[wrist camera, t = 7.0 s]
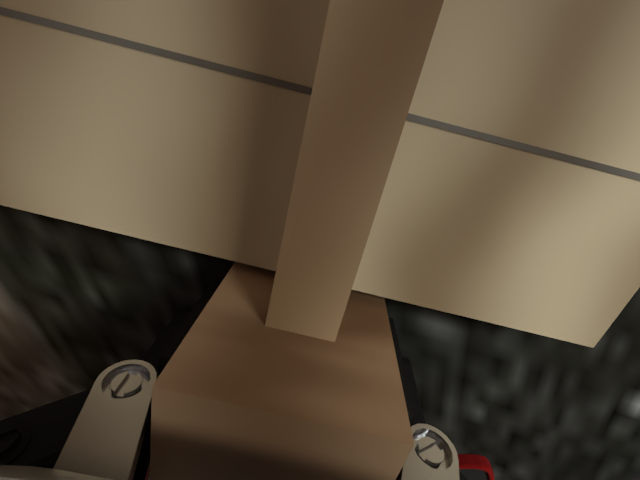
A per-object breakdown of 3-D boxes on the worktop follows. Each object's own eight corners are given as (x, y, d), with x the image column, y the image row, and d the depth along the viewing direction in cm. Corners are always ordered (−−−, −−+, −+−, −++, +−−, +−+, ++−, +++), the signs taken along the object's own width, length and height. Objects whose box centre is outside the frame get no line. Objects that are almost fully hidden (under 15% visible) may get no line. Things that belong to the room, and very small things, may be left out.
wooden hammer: (500, -51, 8) (878, -413, 2) (343, 385, 14) (343, 576, 8) (296, -107, 8) (173, -633, 2) (227, 359, 14) (148, 536, 8)
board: (736, 33, 8) (847, 14, 7) (555, 310, 12) (594, 348, 10) (-124, -207, 8) (-273, -305, 6) (-42, 164, 11) (-118, 177, 9)
